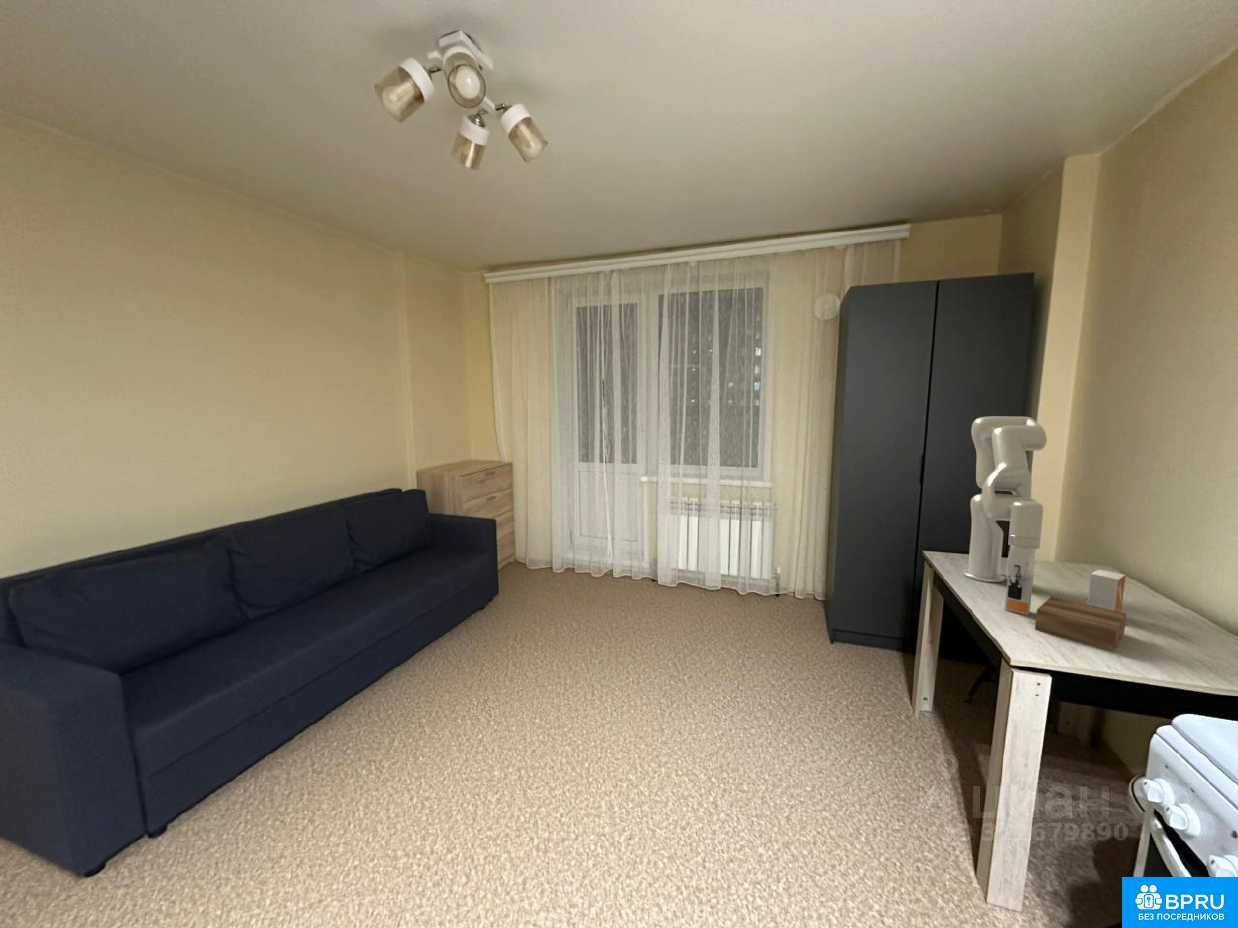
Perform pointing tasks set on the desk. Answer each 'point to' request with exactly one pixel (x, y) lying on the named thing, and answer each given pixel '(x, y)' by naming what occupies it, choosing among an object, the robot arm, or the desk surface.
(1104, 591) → the small box
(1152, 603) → the desk surface
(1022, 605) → the skincare box
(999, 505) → the robot arm
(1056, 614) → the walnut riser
